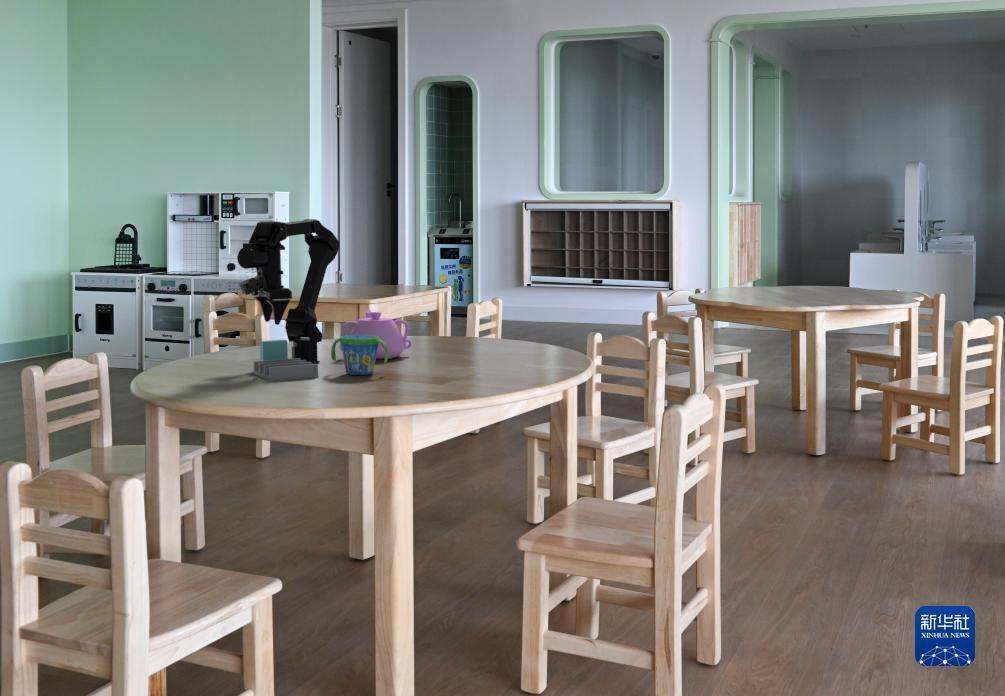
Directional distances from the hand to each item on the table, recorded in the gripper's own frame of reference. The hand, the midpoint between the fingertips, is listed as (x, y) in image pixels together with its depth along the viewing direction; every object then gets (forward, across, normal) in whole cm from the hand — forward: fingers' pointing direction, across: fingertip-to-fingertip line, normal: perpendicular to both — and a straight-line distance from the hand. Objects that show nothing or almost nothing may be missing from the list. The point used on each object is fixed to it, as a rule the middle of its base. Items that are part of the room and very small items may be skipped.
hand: (272, 323), depth 303 cm
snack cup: (+13, +21, +18) cm, 30 cm away
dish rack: (+13, +14, -1) cm, 19 cm away
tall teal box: (+13, 0, 0) cm, 13 cm away
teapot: (+13, -11, +35) cm, 39 cm away
